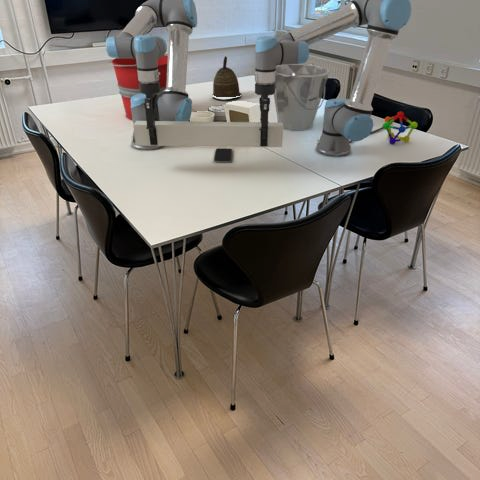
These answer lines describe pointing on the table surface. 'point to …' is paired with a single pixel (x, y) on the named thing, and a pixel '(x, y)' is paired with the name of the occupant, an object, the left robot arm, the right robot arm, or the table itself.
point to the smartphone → (223, 155)
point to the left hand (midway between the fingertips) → (155, 141)
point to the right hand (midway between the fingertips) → (263, 143)
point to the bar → (208, 134)
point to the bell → (225, 82)
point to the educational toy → (398, 128)
